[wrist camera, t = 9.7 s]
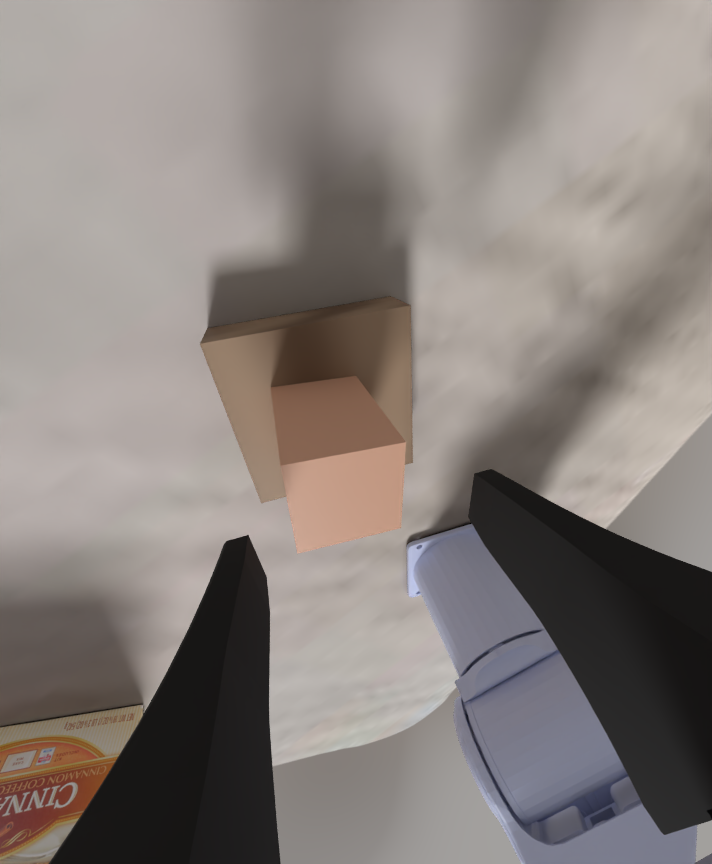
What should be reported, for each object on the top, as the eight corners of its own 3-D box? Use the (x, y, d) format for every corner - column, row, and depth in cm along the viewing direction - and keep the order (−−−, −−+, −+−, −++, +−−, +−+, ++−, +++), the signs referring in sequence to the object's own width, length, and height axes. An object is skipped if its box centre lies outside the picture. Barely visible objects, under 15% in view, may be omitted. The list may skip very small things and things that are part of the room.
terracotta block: (356, 375, 15) (406, 442, 10) (358, 445, 17) (400, 527, 12) (270, 387, 14) (280, 465, 9) (283, 458, 17) (297, 553, 12)
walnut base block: (387, 294, 17) (410, 305, 14) (394, 436, 22) (412, 462, 19) (208, 325, 15) (200, 343, 13) (260, 470, 20) (261, 503, 18)
